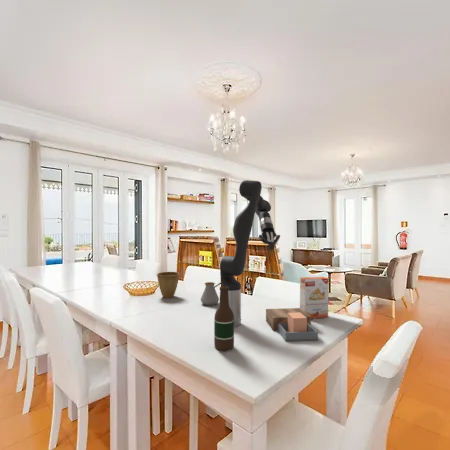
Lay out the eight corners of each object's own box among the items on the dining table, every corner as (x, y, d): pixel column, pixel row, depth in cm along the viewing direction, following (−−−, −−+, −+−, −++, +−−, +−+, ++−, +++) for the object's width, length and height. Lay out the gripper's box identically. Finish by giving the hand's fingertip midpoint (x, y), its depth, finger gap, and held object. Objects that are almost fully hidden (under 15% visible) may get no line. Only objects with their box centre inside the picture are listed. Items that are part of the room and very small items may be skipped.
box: (285, 341, 119) (285, 333, 119) (277, 331, 131) (277, 323, 131) (317, 340, 120) (317, 331, 120) (307, 330, 132) (307, 322, 132)
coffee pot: (206, 307, 169) (206, 282, 169) (197, 303, 178) (197, 279, 178) (235, 302, 181) (235, 278, 181) (225, 298, 191) (225, 276, 191)
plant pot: (155, 295, 198) (155, 272, 199) (175, 293, 205) (175, 271, 205) (159, 300, 185) (159, 275, 185) (181, 298, 191) (181, 274, 191)
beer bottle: (233, 343, 117) (233, 284, 117) (234, 351, 109) (234, 288, 109) (214, 343, 117) (214, 284, 117) (214, 351, 109) (214, 288, 109)
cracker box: (305, 319, 147) (305, 279, 147) (299, 316, 152) (299, 277, 153) (329, 317, 150) (328, 277, 151) (322, 314, 156) (322, 276, 156)
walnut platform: (273, 330, 131) (273, 317, 131) (265, 320, 145) (265, 309, 145) (310, 329, 133) (310, 316, 133) (300, 319, 147) (300, 308, 147)
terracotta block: (287, 330, 130) (293, 337, 122) (287, 312, 130) (293, 318, 122) (300, 329, 131) (306, 336, 123) (300, 312, 131) (306, 317, 123)
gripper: (256, 221, 166) (261, 244, 153) (278, 221, 167) (285, 244, 155) (254, 230, 171) (259, 253, 159) (276, 230, 172) (282, 252, 160)
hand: (272, 248), depth 157 cm, fingers closed
